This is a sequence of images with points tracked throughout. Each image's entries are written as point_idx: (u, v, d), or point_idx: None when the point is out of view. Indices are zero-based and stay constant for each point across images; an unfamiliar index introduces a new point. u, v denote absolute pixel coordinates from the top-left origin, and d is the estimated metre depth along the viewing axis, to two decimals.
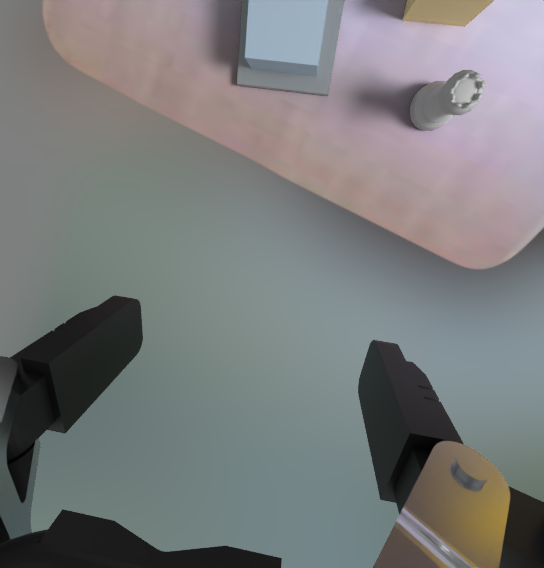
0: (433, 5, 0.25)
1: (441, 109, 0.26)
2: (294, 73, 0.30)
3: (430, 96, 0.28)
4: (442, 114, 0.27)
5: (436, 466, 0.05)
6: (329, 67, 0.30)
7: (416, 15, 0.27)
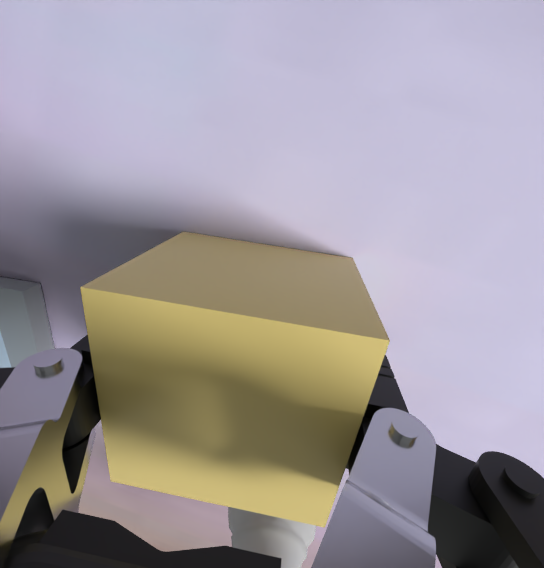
0: None
1: None
2: None
3: None
4: None
5: (374, 427, 0.06)
6: None
7: None
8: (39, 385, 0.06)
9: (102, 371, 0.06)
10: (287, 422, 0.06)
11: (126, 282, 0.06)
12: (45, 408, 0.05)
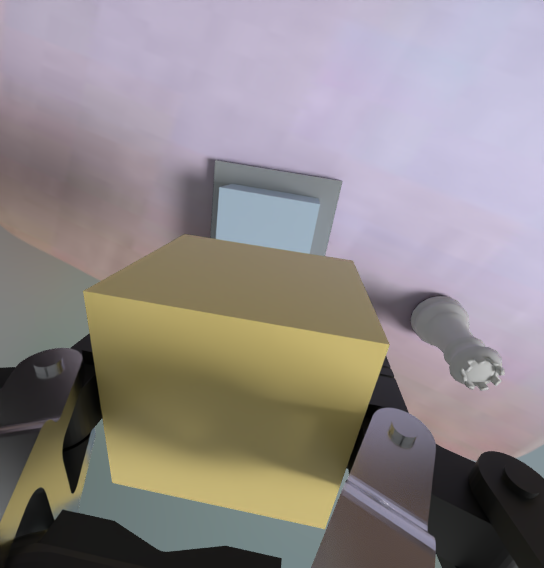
0: None
1: (448, 363, 0.21)
2: None
3: (435, 329, 0.23)
4: None
5: (373, 427, 0.06)
6: None
7: None
8: (39, 385, 0.06)
9: (104, 374, 0.06)
10: (288, 425, 0.06)
11: (128, 286, 0.06)
12: (45, 408, 0.05)
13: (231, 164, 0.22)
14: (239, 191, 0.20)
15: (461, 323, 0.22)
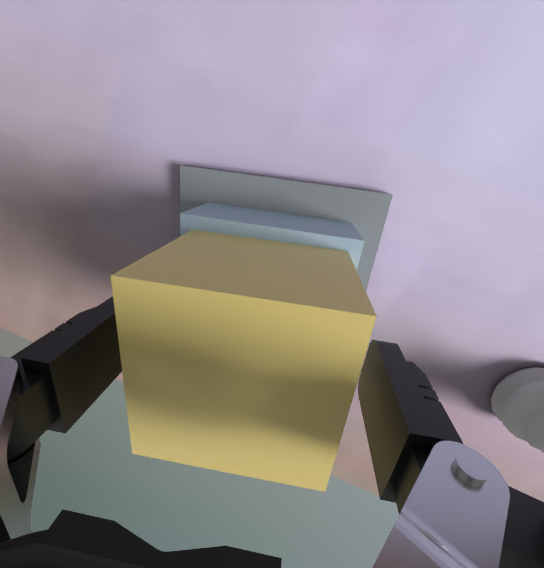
0: None
1: None
2: None
3: None
4: None
5: (436, 466, 0.05)
6: None
7: None
8: None
9: (127, 350, 0.07)
10: (290, 393, 0.07)
11: (148, 271, 0.07)
12: None
13: (206, 171, 0.14)
14: (216, 220, 0.11)
15: None
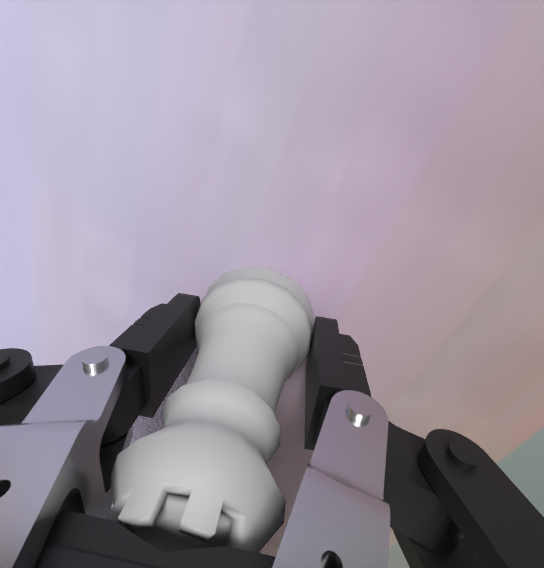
0: None
1: None
2: None
3: None
4: (277, 402, 0.08)
5: (331, 407, 0.06)
6: None
7: None
8: (85, 382, 0.06)
9: None
10: None
11: None
12: (100, 403, 0.05)
13: None
14: None
15: None
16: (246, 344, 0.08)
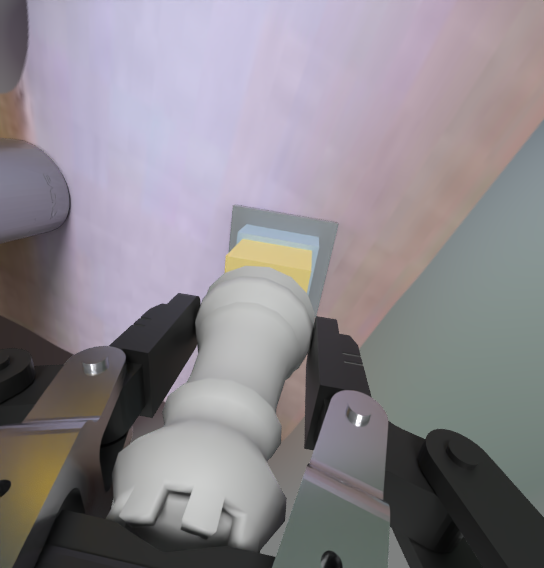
0: None
1: None
2: None
3: None
4: (277, 401, 0.08)
5: (331, 407, 0.06)
6: (312, 223, 0.27)
7: None
8: (84, 382, 0.06)
9: None
10: None
11: None
12: (100, 403, 0.05)
13: None
14: None
15: (198, 354, 0.09)
16: (246, 343, 0.08)
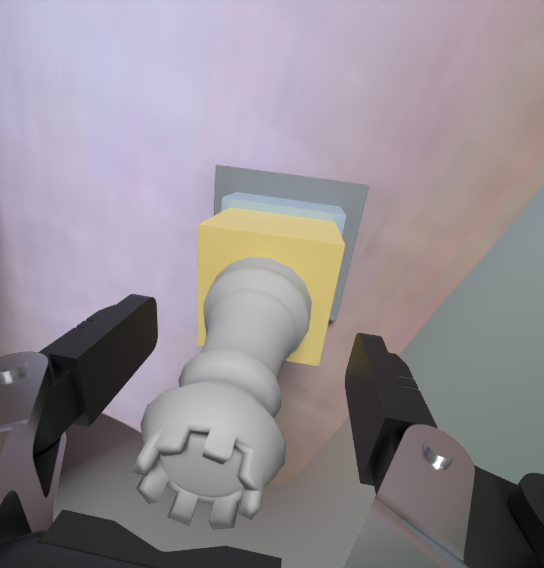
0: None
1: None
2: None
3: None
4: (278, 373, 0.09)
5: (407, 447, 0.05)
6: (330, 186, 0.19)
7: None
8: (3, 391, 0.05)
9: None
10: None
11: None
12: (0, 415, 0.05)
13: None
14: None
15: (207, 334, 0.10)
16: (251, 323, 0.09)
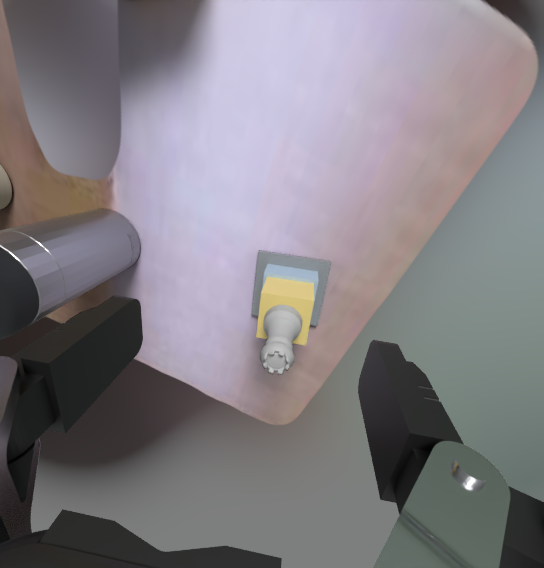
0: None
1: None
2: None
3: None
4: None
5: (436, 466, 0.05)
6: (313, 262, 0.39)
7: None
8: None
9: None
10: None
11: (257, 330, 0.35)
12: None
13: (252, 307, 0.43)
14: None
15: (268, 332, 0.30)
16: (283, 328, 0.29)
